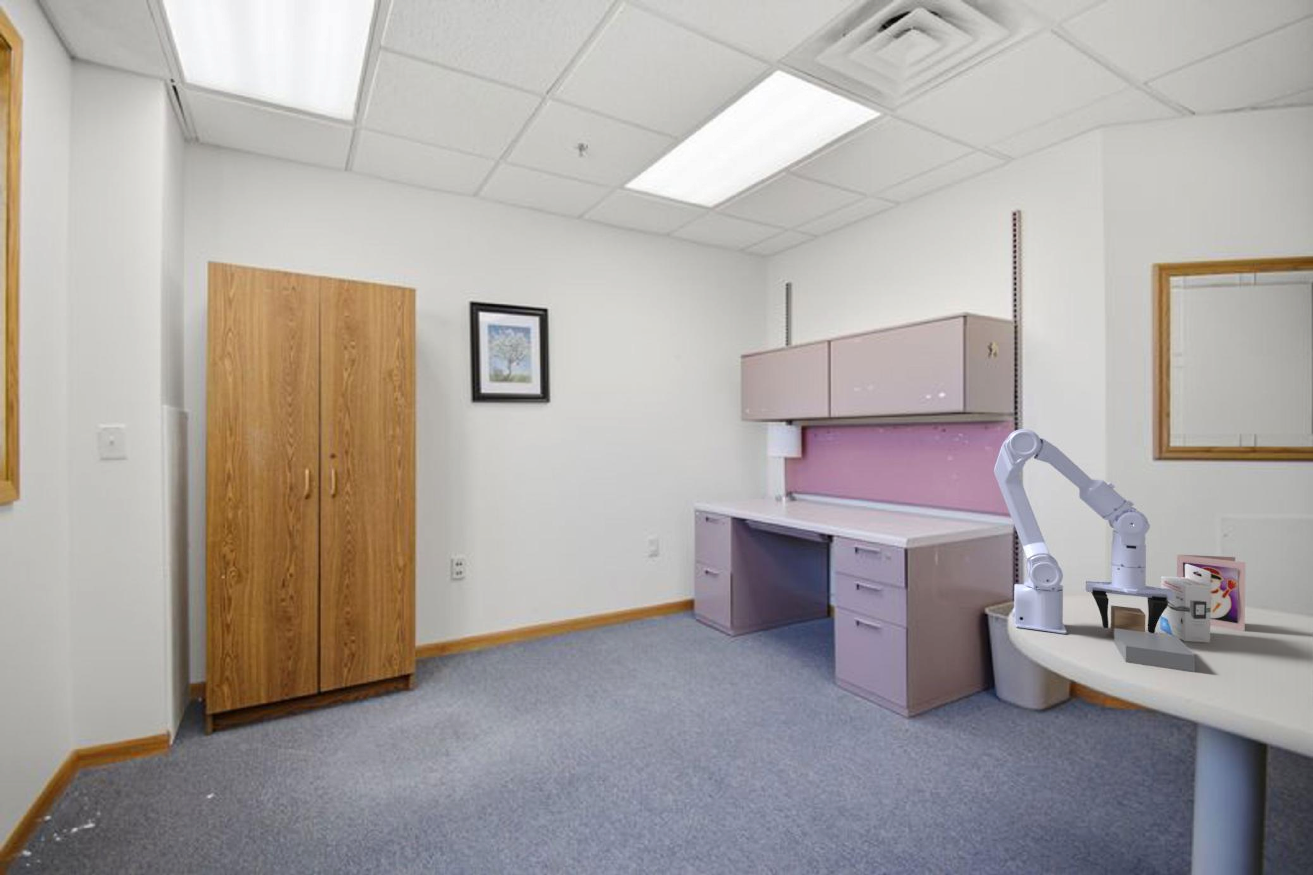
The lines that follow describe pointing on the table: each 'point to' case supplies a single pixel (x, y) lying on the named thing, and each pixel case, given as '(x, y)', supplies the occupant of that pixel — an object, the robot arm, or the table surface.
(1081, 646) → the table surface
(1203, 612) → the ink box
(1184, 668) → the gray rectangular slab
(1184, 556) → the greeting card
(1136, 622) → the walnut block
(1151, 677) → the table surface
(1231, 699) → the table surface
